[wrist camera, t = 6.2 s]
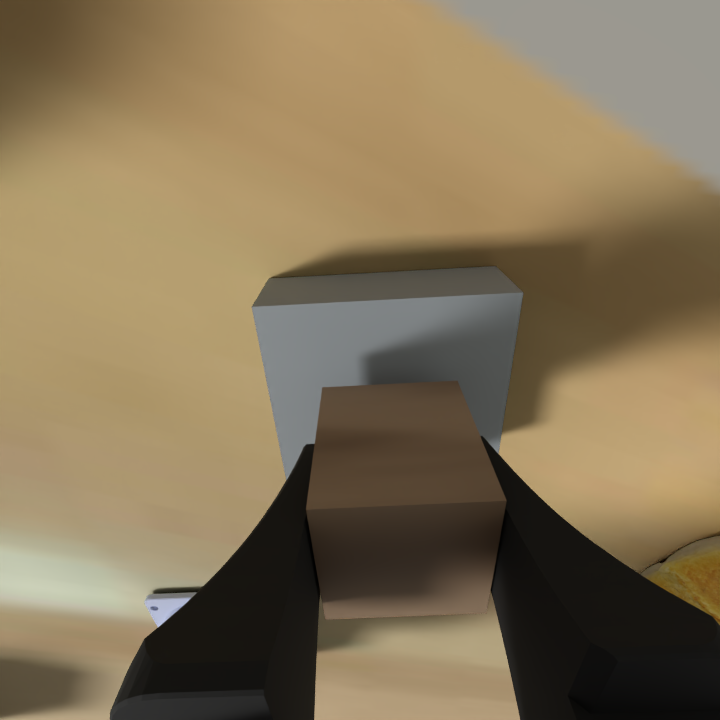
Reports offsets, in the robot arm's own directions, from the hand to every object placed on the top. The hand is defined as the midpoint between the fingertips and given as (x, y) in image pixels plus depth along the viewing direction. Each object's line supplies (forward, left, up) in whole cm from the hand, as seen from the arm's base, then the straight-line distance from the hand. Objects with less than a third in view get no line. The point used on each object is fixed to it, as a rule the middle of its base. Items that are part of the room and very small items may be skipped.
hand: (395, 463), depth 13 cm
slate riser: (0, 0, -6) cm, 6 cm away
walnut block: (0, 0, -2) cm, 2 cm away
